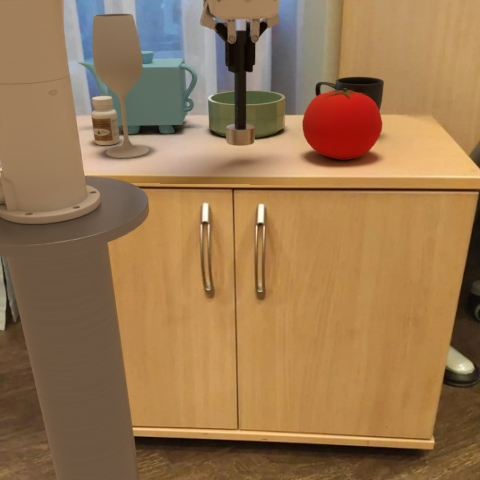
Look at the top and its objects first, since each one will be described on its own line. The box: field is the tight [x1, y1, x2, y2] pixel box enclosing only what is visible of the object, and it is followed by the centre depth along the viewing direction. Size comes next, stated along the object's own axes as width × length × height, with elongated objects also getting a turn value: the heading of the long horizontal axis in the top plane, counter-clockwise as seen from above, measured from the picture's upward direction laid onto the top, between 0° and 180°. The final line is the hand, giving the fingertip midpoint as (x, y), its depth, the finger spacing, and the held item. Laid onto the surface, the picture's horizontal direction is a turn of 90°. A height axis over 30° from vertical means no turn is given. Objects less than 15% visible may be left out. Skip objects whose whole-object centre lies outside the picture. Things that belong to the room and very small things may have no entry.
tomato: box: [301, 88, 383, 161], centre depth 95 cm, size 11×12×10 cm
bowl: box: [207, 89, 286, 139], centre depth 113 cm, size 14×14×6 cm
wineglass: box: [91, 13, 150, 159], centre depth 97 cm, size 8×8×21 cm
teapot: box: [77, 50, 198, 135], centre depth 114 cm, size 22×11×14 cm, turn 89°
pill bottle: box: [90, 95, 121, 146], centre depth 106 cm, size 4×4×8 cm
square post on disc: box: [225, 29, 256, 147], centre depth 90 cm, size 4×4×16 cm
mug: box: [314, 76, 385, 113], centre depth 107 cm, size 8×12×10 cm
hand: (240, 70), depth 89 cm, fingers closed on square post on disc, 1 cm apart
